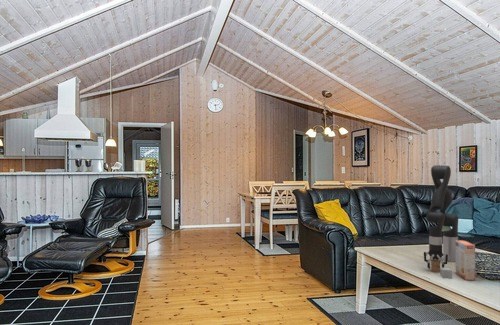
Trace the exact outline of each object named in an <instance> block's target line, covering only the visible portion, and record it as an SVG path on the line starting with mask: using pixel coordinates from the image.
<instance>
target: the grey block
mask: <svg viewBox="0 0 500 325" xmlns="http://www.w3.org/2000/svg"><path fill="white" fill-rule="evenodd" d="M440 277H441V278H443V279H449V280H450V279H453V269H452V268H450V267H444V268H442V267H440Z"/></svg>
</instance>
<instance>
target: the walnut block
mask: <svg viewBox="0 0 500 325" xmlns="http://www.w3.org/2000/svg"><path fill="white" fill-rule="evenodd" d="M430 272H431V273H437V274H441V262H440V260H436V259H432V260H431V261H430Z"/></svg>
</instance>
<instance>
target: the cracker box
mask: <svg viewBox="0 0 500 325" xmlns="http://www.w3.org/2000/svg"><path fill="white" fill-rule="evenodd" d="M455 274H456V275H458V276H459V277H460V278H462V279H463V280H465V281H476V245H475V244H473V243H471V242H469V241H467V240H460V239H458V240H456V262H455Z"/></svg>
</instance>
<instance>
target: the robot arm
mask: <svg viewBox="0 0 500 325" xmlns="http://www.w3.org/2000/svg"><path fill="white" fill-rule="evenodd" d="M451 170H452V169H451V167H450V166H449V165H433V166H432V167H431V169H430V173H431V178H432V182H433V185H434V188H435V191H434V192H433V194H432V196H431V203H430V206H429V209H428V211H427V213H426V216H425V219H426V221H427V222H428V223H430V224H437V225H436V226H430V227H429V230H428V231H429V233H428V234H429V236H428V237H429V238H428V251H423V262H425V263H427V267H426V268H428V269H429V270H431V260H432V259H434V260H440V264H441V268H445V265H447V264H448V262H451V263H456V240H459V235H458V234H459V230H458V229H459V216H458V215H457V214H456V213H446V211H447V210H448V208H449V207H450V206H451V205H452V202H453V196H452V192H451V190H450V188H448V186H449V182H450V180H451V173H452V171H451ZM438 211H439V212H438ZM443 227H450V228H451V229H449V230H445V231H443ZM428 255H429V258H428V259H427V257H428Z"/></svg>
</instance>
